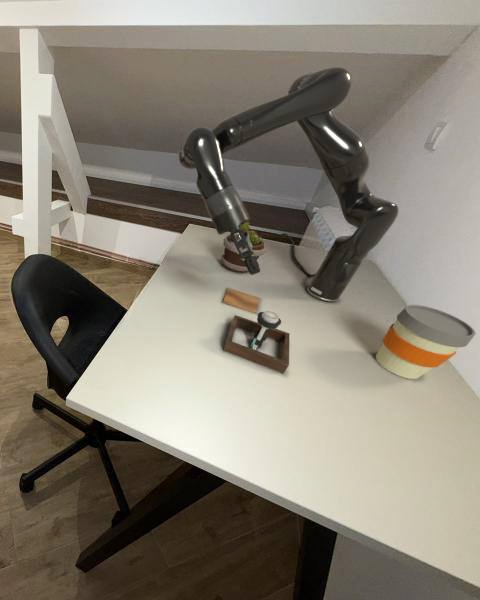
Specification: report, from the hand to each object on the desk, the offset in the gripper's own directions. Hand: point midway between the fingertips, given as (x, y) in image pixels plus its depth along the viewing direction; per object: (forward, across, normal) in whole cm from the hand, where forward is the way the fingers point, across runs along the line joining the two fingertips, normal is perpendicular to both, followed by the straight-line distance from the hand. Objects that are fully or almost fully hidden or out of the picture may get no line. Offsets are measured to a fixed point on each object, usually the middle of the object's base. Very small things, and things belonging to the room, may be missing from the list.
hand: (255, 270), depth 74 cm
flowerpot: (+2, +50, +8) cm, 51 cm away
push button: (+19, +5, +8) cm, 21 cm away
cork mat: (+11, +26, +8) cm, 29 cm away
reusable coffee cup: (+39, +18, -19) cm, 47 cm away
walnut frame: (+19, +5, +8) cm, 21 cm away
